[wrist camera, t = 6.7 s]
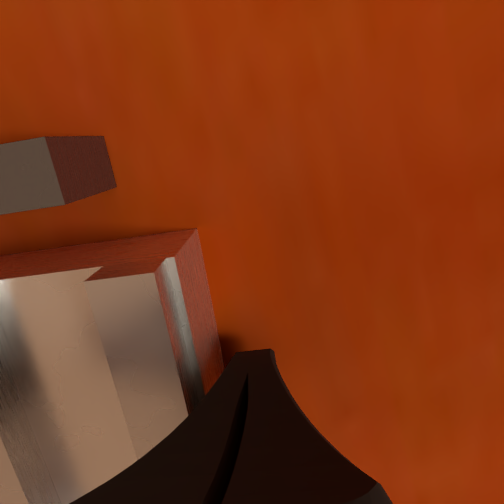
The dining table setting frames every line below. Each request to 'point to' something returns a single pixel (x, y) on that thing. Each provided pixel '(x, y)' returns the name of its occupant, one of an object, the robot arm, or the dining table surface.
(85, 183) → the dock
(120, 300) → the block
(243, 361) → the robot arm
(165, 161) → the dining table surface
